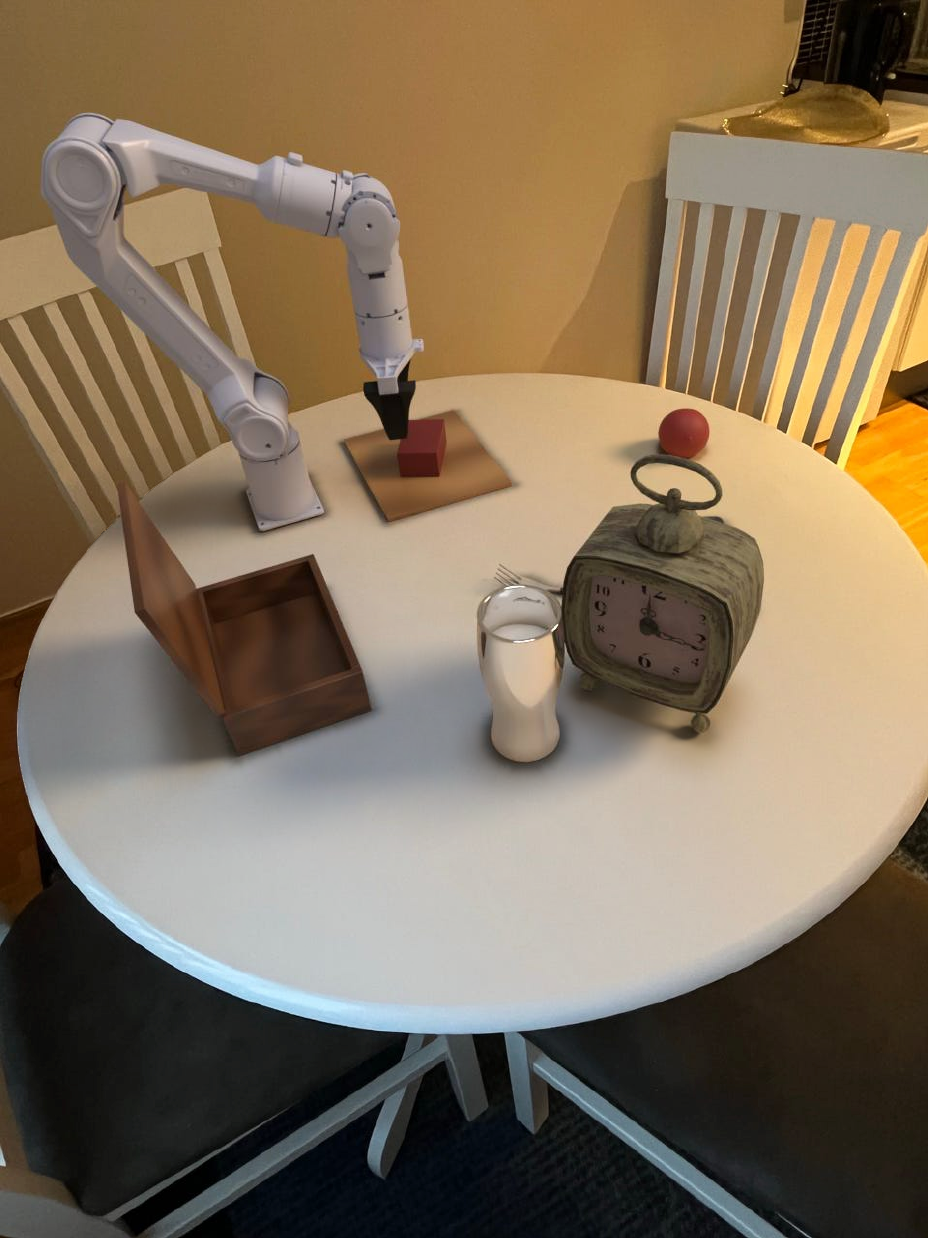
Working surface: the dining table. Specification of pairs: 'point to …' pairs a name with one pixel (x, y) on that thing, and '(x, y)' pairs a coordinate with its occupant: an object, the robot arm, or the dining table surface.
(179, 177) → the robot arm
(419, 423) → the dark-red plain block
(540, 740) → the beer glass
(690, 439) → the fruit
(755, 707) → the dining table surface
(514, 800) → the dining table surface
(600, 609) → the tabletop clock
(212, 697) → the lid
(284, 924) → the dining table surface
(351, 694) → the chest
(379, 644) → the dining table surface
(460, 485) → the wooden board
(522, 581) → the fork
